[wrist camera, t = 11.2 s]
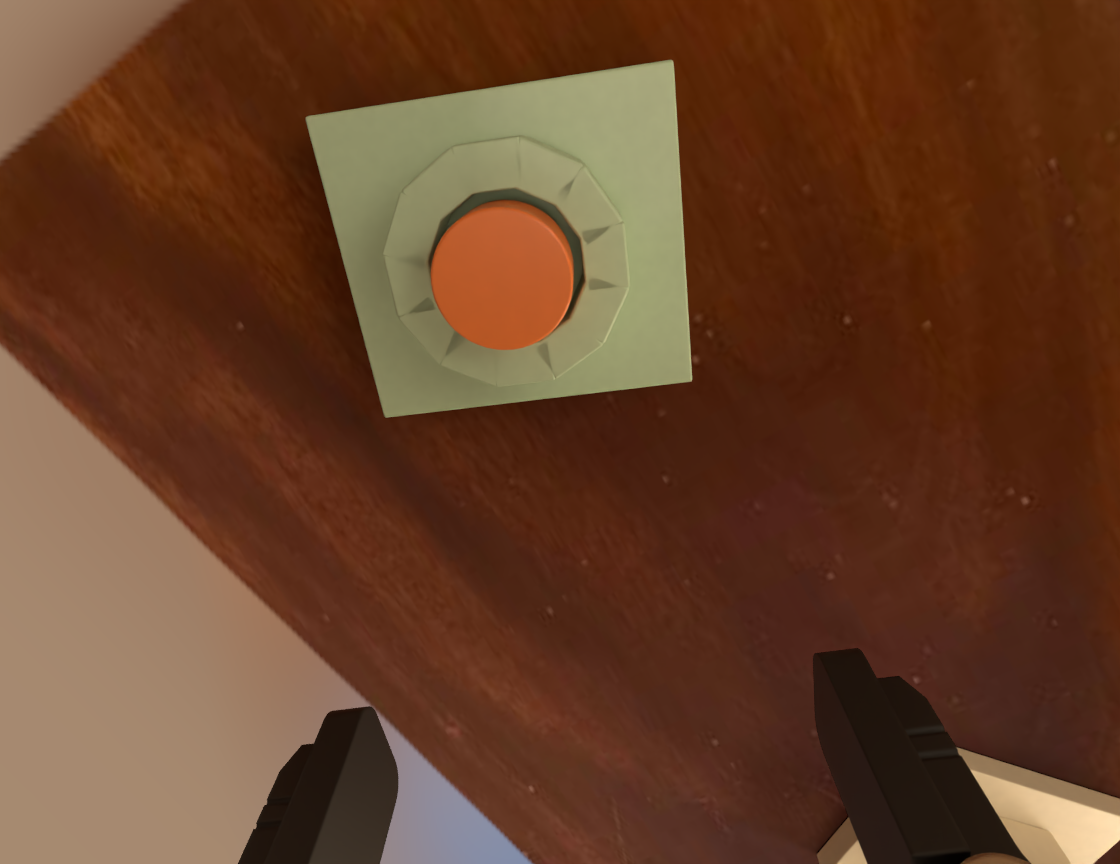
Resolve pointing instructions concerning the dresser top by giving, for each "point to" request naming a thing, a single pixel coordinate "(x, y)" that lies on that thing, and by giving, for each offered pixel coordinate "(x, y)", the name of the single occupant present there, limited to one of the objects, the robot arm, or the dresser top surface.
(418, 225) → the button block
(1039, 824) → the bracket
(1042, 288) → the dresser top surface
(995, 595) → the dresser top surface
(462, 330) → the button
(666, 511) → the dresser top surface
